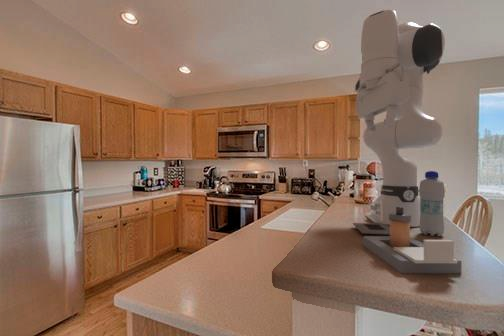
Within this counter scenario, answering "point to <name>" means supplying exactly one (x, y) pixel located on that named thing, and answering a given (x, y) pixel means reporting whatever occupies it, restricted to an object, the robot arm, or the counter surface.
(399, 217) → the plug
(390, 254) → the socket block
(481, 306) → the counter surface
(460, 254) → the counter surface
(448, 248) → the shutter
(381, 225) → the electrical outlet
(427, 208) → the bottle
